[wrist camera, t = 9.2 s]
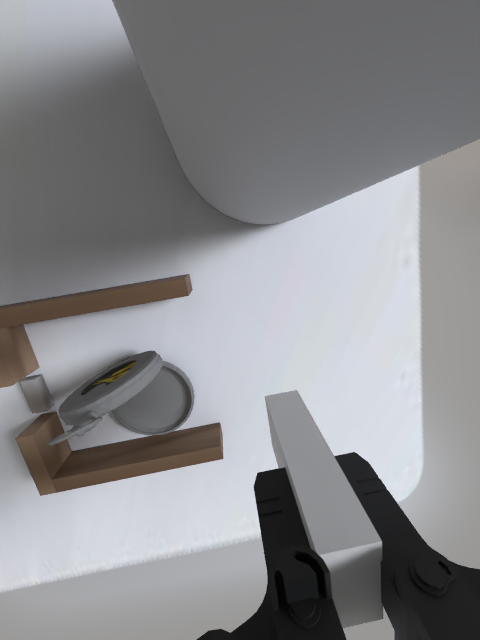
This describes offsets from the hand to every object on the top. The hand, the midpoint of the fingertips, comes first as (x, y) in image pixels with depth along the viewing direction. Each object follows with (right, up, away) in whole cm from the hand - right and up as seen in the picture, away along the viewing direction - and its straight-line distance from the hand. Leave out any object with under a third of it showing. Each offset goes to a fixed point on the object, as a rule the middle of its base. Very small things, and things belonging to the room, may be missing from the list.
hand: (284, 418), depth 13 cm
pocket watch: (-10, 0, +10) cm, 14 cm away
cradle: (-12, 0, +9) cm, 15 cm away
